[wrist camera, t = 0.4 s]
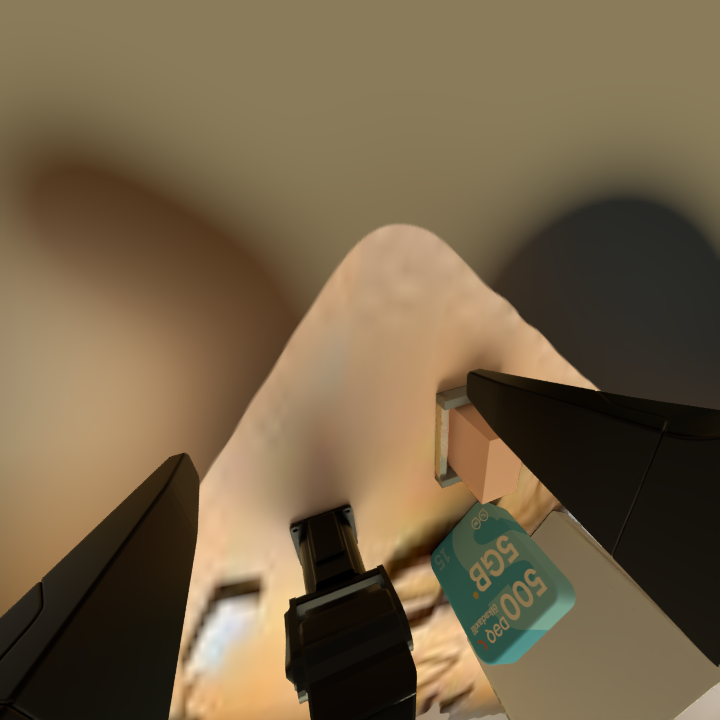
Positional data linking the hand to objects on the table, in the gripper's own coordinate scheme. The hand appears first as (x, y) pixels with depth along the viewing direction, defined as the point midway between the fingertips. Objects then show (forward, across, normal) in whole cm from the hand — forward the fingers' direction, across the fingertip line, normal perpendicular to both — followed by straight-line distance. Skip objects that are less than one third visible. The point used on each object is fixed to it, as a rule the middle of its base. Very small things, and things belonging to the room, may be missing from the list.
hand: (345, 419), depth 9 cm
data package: (+15, -16, +34) cm, 41 cm away
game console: (+15, -27, +52) cm, 60 cm away
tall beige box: (+14, -15, +16) cm, 27 cm away
